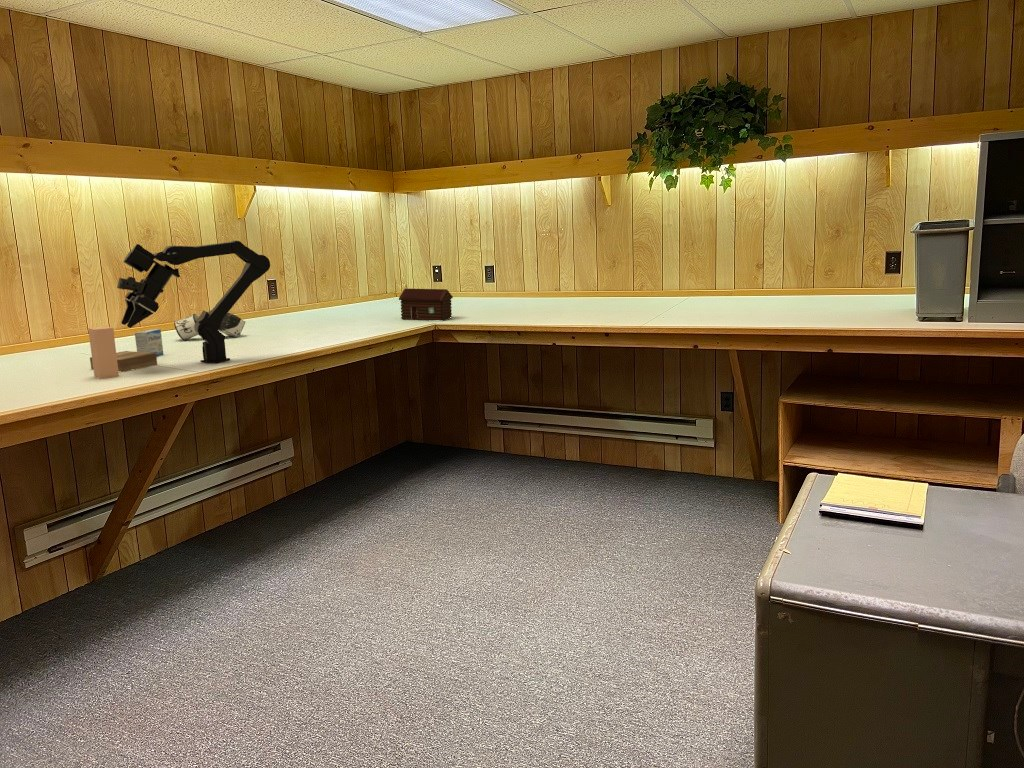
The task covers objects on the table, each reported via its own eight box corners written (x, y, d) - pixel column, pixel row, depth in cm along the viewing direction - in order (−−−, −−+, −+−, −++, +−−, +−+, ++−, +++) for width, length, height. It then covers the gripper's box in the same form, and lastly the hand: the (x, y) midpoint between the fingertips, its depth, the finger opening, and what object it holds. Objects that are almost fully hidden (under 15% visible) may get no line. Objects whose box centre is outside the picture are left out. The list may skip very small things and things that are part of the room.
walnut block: (157, 365, 246) (156, 353, 245) (122, 373, 234) (120, 360, 233) (127, 363, 251) (126, 351, 250) (91, 370, 239) (89, 357, 238)
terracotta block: (112, 373, 231) (106, 326, 228) (118, 376, 228) (113, 327, 225) (94, 376, 227) (88, 328, 225) (100, 378, 224) (94, 329, 221)
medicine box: (149, 358, 256) (146, 332, 255) (137, 358, 257) (134, 332, 255) (163, 354, 264) (161, 328, 262) (151, 354, 265) (149, 328, 263)
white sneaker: (176, 343, 290) (174, 316, 287) (174, 339, 298) (172, 313, 296) (248, 337, 300) (246, 311, 298) (244, 334, 309) (242, 309, 307)
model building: (399, 320, 347) (398, 286, 344) (411, 317, 358) (410, 283, 355) (442, 321, 340) (441, 286, 337) (453, 318, 351) (452, 284, 348)
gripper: (124, 265, 239) (94, 308, 237) (136, 267, 225) (104, 313, 222) (158, 286, 246) (129, 328, 243) (171, 289, 231) (141, 334, 228)
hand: (125, 325), depth 234 cm, fingers open, 9 cm apart
